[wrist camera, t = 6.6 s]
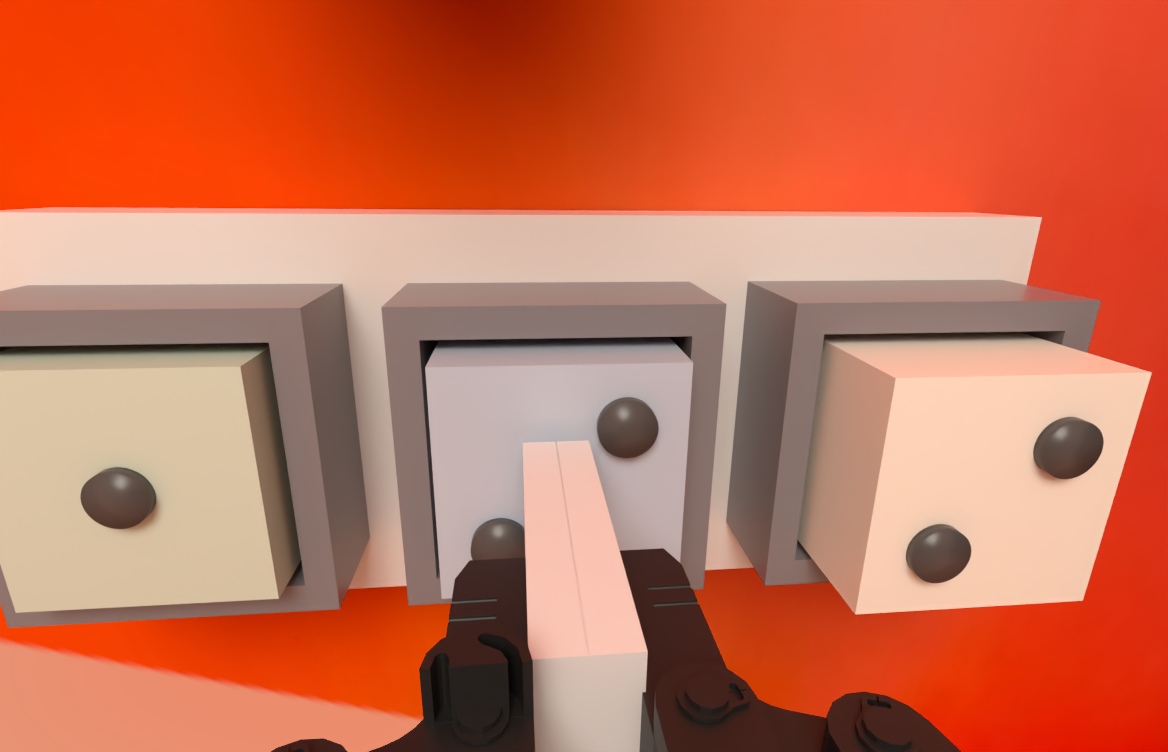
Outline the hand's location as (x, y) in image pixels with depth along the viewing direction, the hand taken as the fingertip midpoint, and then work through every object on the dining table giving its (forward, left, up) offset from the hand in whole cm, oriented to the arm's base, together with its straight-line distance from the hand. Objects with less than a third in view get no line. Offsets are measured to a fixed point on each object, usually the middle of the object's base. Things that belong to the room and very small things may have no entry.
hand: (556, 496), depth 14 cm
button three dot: (0, 0, -5) cm, 5 cm away
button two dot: (-10, 0, -3) cm, 11 cm away
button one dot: (+10, 0, -5) cm, 11 cm away
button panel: (0, 0, -8) cm, 8 cm away
